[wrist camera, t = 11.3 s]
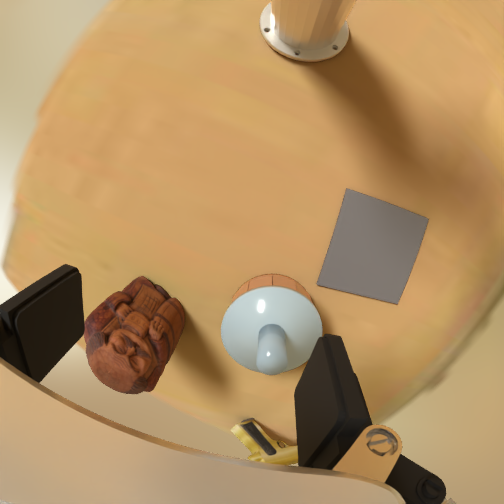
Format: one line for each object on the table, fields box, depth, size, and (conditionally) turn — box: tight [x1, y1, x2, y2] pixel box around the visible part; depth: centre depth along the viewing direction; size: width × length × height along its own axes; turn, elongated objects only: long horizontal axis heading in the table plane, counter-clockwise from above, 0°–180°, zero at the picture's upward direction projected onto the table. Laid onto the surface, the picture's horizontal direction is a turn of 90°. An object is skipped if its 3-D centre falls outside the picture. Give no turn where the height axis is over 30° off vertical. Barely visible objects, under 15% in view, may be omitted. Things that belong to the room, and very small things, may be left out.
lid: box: [221, 285, 322, 375], centre depth 32 cm, size 13×13×7 cm
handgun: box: [231, 418, 298, 465], centre depth 47 cm, size 2×19×12 cm
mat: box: [317, 188, 429, 304], centre depth 38 cm, size 14×14×1 cm
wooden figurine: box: [84, 276, 185, 394], centre depth 33 cm, size 12×6×18 cm, turn 49°
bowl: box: [232, 274, 312, 302], centre depth 38 cm, size 12×12×6 cm
